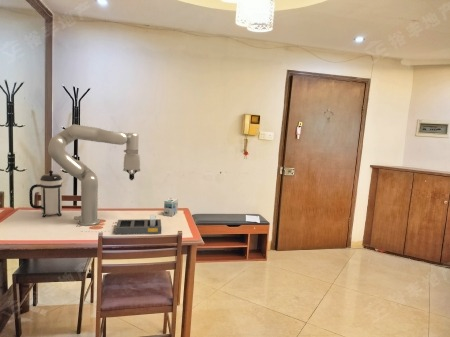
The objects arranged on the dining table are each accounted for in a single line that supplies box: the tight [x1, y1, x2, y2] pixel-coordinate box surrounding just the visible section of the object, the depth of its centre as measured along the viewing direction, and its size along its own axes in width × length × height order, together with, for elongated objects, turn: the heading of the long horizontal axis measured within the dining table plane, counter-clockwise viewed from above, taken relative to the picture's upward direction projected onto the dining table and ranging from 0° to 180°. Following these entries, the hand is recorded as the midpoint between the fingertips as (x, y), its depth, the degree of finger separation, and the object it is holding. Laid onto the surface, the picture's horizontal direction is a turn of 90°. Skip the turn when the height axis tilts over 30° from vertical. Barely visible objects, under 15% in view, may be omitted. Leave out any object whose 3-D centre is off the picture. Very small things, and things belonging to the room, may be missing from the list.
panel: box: [149, 214, 156, 226], centre depth 201 cm, size 3×10×7 cm, turn 14°
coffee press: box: [28, 170, 65, 218], centre depth 217 cm, size 17×16×30 cm
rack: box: [115, 218, 162, 236], centre depth 200 cm, size 26×16×4 cm, turn 103°
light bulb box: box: [163, 197, 179, 217], centre depth 236 cm, size 11×7×11 cm, turn 168°
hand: (131, 180), depth 214 cm, fingers closed
